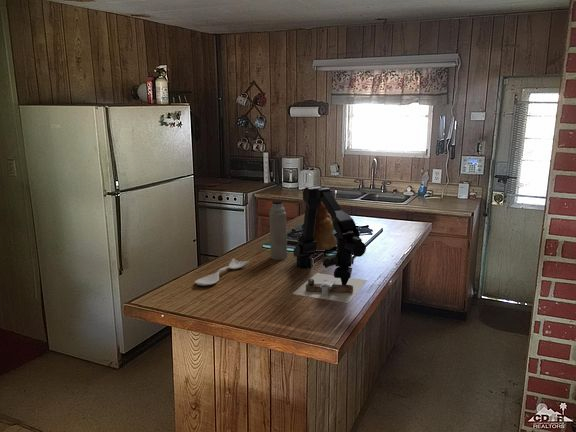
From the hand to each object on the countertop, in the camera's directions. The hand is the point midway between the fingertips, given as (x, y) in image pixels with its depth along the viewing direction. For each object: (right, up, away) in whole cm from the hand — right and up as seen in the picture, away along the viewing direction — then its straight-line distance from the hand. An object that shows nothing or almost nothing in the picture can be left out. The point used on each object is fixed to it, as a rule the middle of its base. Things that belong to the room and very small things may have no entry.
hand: (344, 286), depth 193 cm
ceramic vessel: (-6, +11, +54) cm, 56 cm away
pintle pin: (-13, +1, -1) cm, 13 cm away
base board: (-5, -1, +3) cm, 6 cm away
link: (-6, -1, -1) cm, 6 cm away
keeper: (-7, -2, -2) cm, 7 cm away
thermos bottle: (-27, +8, +45) cm, 52 cm away
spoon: (-52, +1, +21) cm, 56 cm away
